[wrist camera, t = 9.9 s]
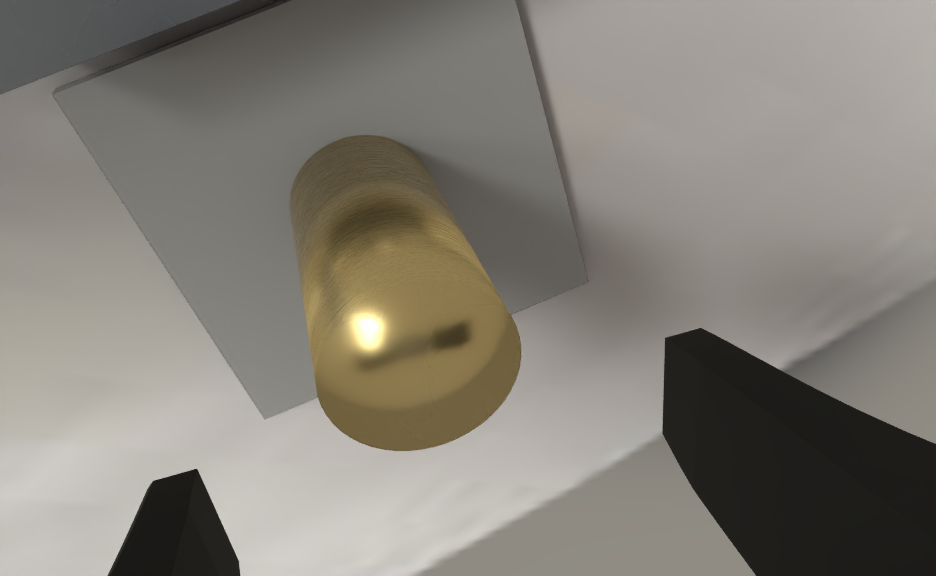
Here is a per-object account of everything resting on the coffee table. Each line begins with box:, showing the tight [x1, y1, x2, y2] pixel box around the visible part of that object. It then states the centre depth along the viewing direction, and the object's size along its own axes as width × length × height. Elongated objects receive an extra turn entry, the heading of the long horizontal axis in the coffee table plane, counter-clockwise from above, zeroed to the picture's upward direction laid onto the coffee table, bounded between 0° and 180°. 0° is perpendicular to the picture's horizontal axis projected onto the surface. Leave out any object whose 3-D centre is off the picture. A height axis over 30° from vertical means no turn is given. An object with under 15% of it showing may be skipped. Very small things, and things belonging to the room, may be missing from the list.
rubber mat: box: [52, 0, 588, 419], centre depth 19 cm, size 10×10×1 cm
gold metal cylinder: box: [290, 135, 521, 451], centre depth 16 cm, size 4×4×7 cm
